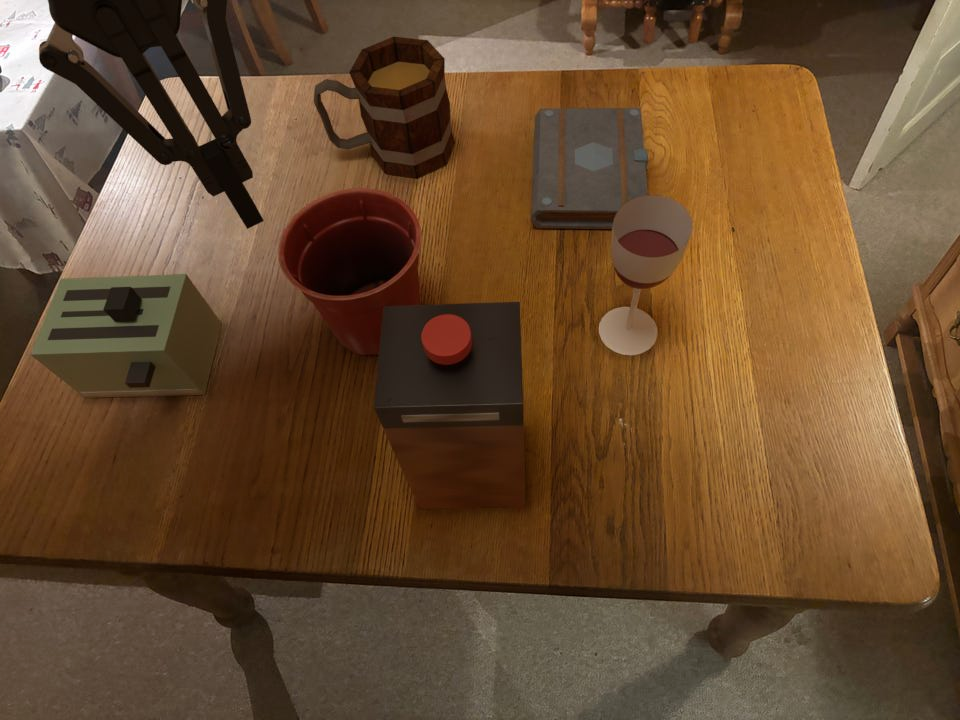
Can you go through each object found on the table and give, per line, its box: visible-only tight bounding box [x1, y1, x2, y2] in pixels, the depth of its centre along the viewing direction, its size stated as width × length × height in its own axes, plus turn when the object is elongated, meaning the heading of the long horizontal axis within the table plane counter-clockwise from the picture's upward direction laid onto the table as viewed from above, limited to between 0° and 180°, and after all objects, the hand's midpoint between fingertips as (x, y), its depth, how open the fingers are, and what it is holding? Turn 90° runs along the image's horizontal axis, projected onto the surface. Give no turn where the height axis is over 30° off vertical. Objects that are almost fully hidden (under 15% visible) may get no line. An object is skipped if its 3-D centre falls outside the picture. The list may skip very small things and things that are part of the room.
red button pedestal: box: [373, 301, 526, 510], centre depth 66 cm, size 12×10×26 cm
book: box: [530, 107, 649, 230], centre depth 98 cm, size 21×16×5 cm
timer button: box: [421, 314, 472, 365], centre depth 53 cm, size 4×4×1 cm
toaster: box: [29, 273, 223, 399], centre depth 82 cm, size 16×14×11 cm
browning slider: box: [103, 287, 142, 322], centre depth 77 cm, size 2×3×3 cm
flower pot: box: [277, 187, 423, 356], centre depth 82 cm, size 16×16×16 cm
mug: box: [313, 36, 456, 180], centre depth 99 cm, size 20×14×15 cm
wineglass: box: [598, 194, 694, 356], centre depth 77 cm, size 8×9×20 cm
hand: (251, 217), depth 55 cm, fingers closed
